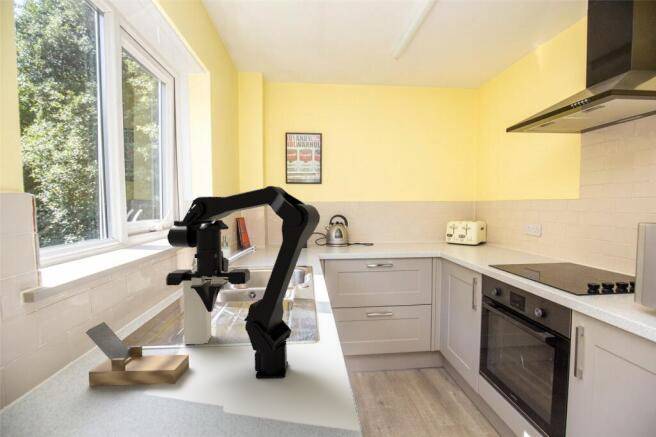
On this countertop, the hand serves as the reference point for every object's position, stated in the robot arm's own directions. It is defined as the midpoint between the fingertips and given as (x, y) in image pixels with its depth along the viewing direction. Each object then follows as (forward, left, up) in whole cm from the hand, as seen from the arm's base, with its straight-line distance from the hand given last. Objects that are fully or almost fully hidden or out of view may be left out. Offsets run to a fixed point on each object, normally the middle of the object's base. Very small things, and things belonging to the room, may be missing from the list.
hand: (210, 311), depth 76 cm
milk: (+8, -12, -12) cm, 19 cm away
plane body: (+13, +7, -12) cm, 19 cm away
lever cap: (+16, +7, -9) cm, 20 cm away
